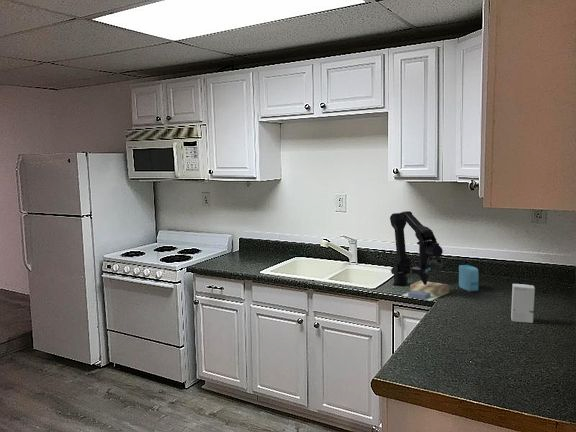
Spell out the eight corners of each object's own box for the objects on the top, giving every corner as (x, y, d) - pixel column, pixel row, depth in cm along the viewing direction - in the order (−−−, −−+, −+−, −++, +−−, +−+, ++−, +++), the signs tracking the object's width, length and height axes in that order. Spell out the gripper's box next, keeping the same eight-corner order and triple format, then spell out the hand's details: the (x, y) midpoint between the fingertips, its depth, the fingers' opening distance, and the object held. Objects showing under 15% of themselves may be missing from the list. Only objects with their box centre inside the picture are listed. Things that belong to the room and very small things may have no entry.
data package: (478, 291, 251) (478, 268, 250) (470, 292, 250) (470, 269, 249) (466, 286, 263) (466, 264, 262) (458, 286, 262) (458, 264, 261)
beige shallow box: (410, 292, 254) (410, 284, 254) (420, 287, 262) (420, 280, 262) (439, 296, 243) (439, 289, 243) (449, 292, 251) (449, 284, 251)
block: (413, 290, 249) (413, 294, 249) (408, 292, 244) (408, 296, 244) (430, 292, 243) (430, 296, 243) (425, 295, 238) (425, 299, 238)
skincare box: (511, 321, 203) (512, 286, 201) (510, 317, 208) (511, 283, 207) (534, 323, 200) (535, 287, 198) (532, 319, 205) (533, 284, 204)
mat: (401, 295, 247) (401, 295, 247) (410, 292, 254) (410, 291, 254) (431, 300, 237) (431, 300, 237) (439, 296, 243) (439, 296, 243)
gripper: (431, 258, 235) (431, 290, 236) (448, 253, 248) (448, 283, 250) (410, 256, 242) (410, 287, 244) (428, 250, 256) (428, 280, 257)
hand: (425, 284), depth 249 cm, fingers closed
